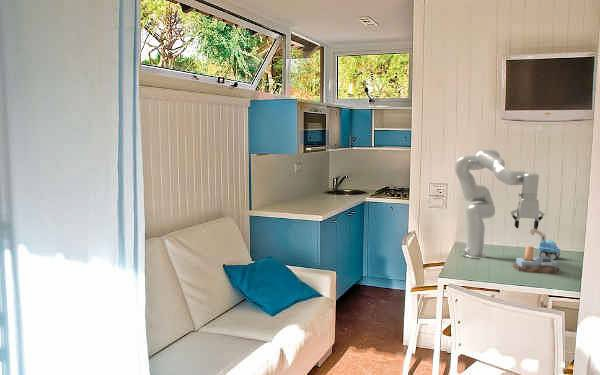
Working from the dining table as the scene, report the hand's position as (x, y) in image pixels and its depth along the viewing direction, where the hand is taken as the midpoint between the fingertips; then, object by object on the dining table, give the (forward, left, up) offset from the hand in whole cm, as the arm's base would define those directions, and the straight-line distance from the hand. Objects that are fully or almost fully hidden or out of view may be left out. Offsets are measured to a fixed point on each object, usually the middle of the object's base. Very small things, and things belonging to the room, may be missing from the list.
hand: (526, 228), depth 285 cm
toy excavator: (+23, +33, -23) cm, 46 cm away
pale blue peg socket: (+5, -3, -21) cm, 22 cm away
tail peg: (+1, -3, -19) cm, 20 cm away
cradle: (+5, -3, -23) cm, 24 cm away
